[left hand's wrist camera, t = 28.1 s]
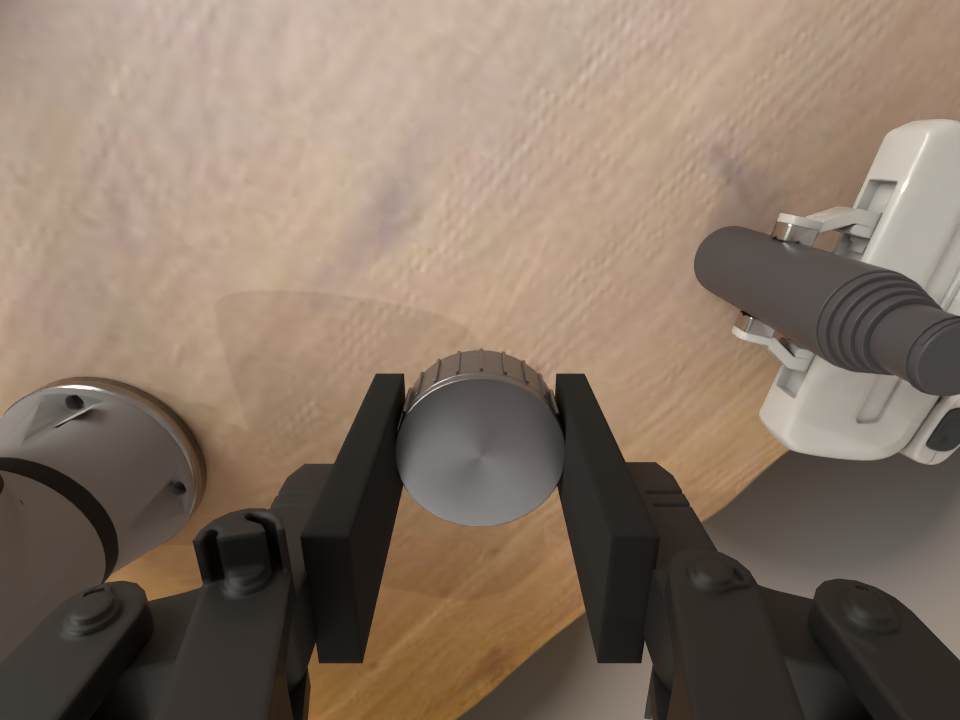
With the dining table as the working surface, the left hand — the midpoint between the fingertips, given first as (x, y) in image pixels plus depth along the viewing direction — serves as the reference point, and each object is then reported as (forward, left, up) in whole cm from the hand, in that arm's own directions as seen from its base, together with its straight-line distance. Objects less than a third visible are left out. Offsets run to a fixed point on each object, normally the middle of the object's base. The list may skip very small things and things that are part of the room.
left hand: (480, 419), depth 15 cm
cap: (0, 0, +2) cm, 2 cm away
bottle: (+14, -11, -25) cm, 30 cm away
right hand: (+13, -11, -18) cm, 25 cm away
